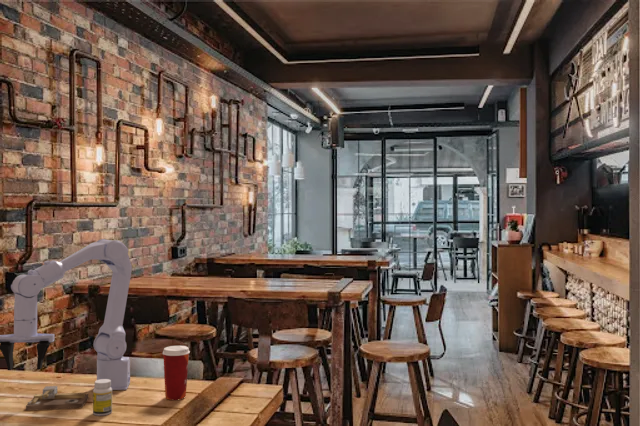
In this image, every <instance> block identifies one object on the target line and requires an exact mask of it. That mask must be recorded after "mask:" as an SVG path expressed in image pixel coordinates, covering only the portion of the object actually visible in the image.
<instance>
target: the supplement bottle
mask: <svg viewBox="0 0 640 426" xmlns="http://www.w3.org/2000/svg"><path fill="white" fill-rule="evenodd" d="M110 386H111V380H109V379H100V380H97V379H96V380H95V381H94V387H95V389H94V388H93V389H94V390H93V389H92V392H93V393H92V414H93V415H94V416H98V417H99V416H100V417H101V416H102V417H103V416H108V415H110V414H112V412H113V390H112V388H111V387H110Z"/></svg>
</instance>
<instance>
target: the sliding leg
mask: <svg viewBox="0 0 640 426" xmlns="http://www.w3.org/2000/svg"><path fill="white" fill-rule="evenodd" d="M42 394H43V399H55V394H58V385H49V386H48V385H47V386H45V387H44V388H42Z"/></svg>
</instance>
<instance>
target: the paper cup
mask: <svg viewBox="0 0 640 426" xmlns="http://www.w3.org/2000/svg"><path fill="white" fill-rule="evenodd" d="M190 352H191V351H190V350H189V347H188V346H186V345H170V346H166V347H164V348H163V351H162V353H161V354H162V356H163V372H164V374H163V375H164V393H165V400H168V401H179V400H178V399H181V400H183V399H182V398H184V397H185V396H186V395H187V383H188V373H189V371H188V370H189V356H190V355H189V354H190ZM185 398H186V397H185ZM185 398H184V399H185Z"/></svg>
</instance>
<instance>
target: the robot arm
mask: <svg viewBox="0 0 640 426" xmlns="http://www.w3.org/2000/svg"><path fill="white" fill-rule="evenodd" d="M91 260H99V261H100V262H103V264H106V266H107V267H108V268H109V270H110V271H111V272H112V274H111V281H110V286H109V291H108V297H107V304H106V309H105V314H104V321H103V324H101V326H100V328H98V334H97V335H96V337H95V339H94V340H93V349H94V350H95V351H96V352H97V355H96V380H100V379H109V380H111V386H110V387H111V388H112V391H116V390H117V391H124V390H128V388H129V386H130V384H131V359H130V357H129V356H124V354H125V353H126V351H127V348H128V347H127V342H126V335H127V334H126V331H125V329H124V325H123V324H124V319H125V312H126V307H127V299H128V294H129V289H130V283H131V276H132V271H133V266H132V262H131V259H130V257H129V248H128V247H127V246H126V245H125V244H124V242H123V241H121V240H118V239H114V240H112V239H106V238H102V239H101V238H100V239H98V240H97V241H94V242H91V243H89V244H88V245H86V246H85V247H83V248H82V247H81V249H79V250H78V251H77V250H76V251H75V252H74V253H71V254H70V255H69V256H67V257H65V258H64V259H61V260H60V261H57V260H54V259H52V260H45V261H43V265H41V266H38V267H37V268H35V269H28V271H27V274H24V273H23V274H20V275H18V276H16V277H15V278H14V279H13V281H12V283H11V284H10V289H11V291H12V292H13V293H14V304H13V333H11V334H10V333H9V334H0V351H1V354H2V356H3V358H4V361H5V364H6V367H7V371H11V370H13V369H14V349H15V343H17V344H18V343H37V344H36V352H37V365H36V369H37V370H41V369H42V368H43V364H44V359H45V356H46V355H47V352H48V349H49V347H50V345H51V343H54V341H55V337H56V336H55V333H38V295H39V294H40V292H41V291H42V290H43V289H45V288H46V287H49V286H50V285H53V284H54V283H56V282H58V281H60V280H62V279H63V278H64V276H65V274H66V272H67V271H70V270H72V269H74V268H76V267H78V266H80V265H82V264H84V263H86V262H89V261H91ZM94 389H95V386H94V388H93V389H92V391H93V390H94Z"/></svg>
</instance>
